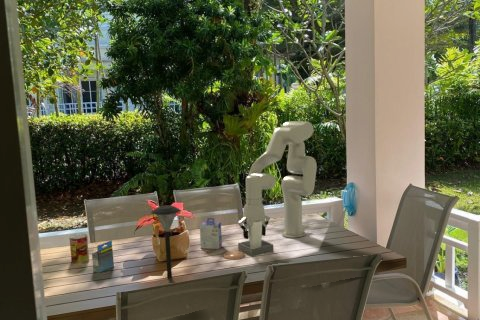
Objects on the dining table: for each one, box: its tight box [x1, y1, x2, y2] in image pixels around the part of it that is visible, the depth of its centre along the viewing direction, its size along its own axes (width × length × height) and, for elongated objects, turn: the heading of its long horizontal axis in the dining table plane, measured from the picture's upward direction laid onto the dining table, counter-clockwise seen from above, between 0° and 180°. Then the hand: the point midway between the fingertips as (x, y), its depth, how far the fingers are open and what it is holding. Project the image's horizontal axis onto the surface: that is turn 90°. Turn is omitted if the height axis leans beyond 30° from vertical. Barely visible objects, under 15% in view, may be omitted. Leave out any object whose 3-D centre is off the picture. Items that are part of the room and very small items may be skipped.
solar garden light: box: [150, 204, 181, 279], centre depth 195 cm, size 12×12×30 cm
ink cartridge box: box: [199, 217, 223, 250], centre depth 235 cm, size 10×6×14 cm, turn 79°
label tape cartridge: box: [91, 240, 115, 274], centre depth 209 cm, size 9×4×12 cm, turn 150°
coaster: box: [223, 250, 246, 260], centre depth 221 cm, size 10×10×1 cm
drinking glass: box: [247, 221, 263, 249], centre depth 227 cm, size 7×7×15 cm
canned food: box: [69, 233, 90, 265], centre depth 222 cm, size 8×8×12 cm
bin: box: [237, 239, 274, 257], centre depth 227 cm, size 12×12×4 cm
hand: (254, 236), depth 226 cm, fingers open, 9 cm apart
